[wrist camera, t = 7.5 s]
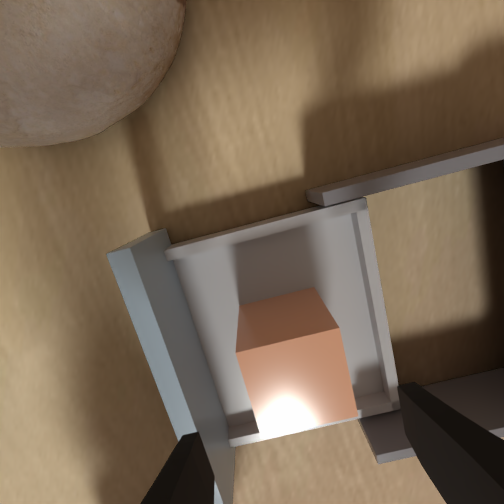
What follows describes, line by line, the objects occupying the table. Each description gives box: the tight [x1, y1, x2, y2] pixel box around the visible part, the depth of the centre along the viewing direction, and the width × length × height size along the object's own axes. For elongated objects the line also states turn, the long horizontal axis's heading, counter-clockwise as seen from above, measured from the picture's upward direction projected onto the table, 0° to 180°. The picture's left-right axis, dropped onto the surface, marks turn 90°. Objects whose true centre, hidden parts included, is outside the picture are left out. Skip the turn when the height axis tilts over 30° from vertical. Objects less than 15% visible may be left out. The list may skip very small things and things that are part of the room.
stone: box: [0, 0, 186, 147], centre depth 13 cm, size 13×10×8 cm
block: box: [235, 287, 358, 438], centre depth 16 cm, size 4×4×5 cm
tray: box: [106, 197, 401, 504], centre depth 16 cm, size 12×15×5 cm
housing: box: [305, 138, 504, 464], centre depth 16 cm, size 12×15×5 cm
